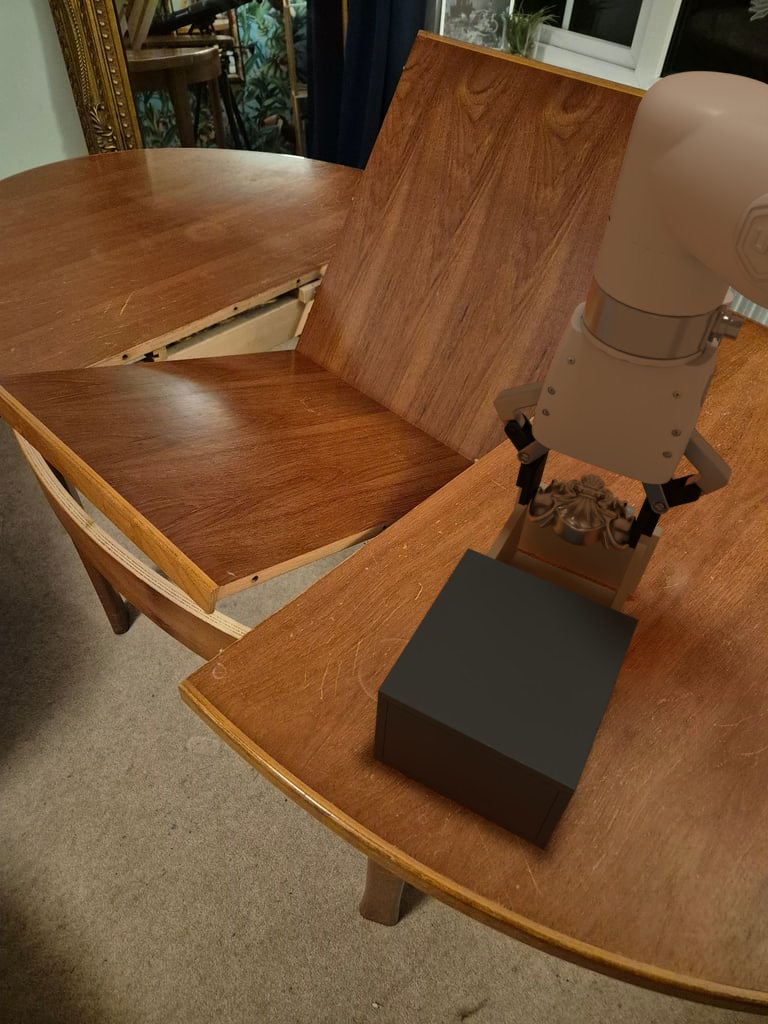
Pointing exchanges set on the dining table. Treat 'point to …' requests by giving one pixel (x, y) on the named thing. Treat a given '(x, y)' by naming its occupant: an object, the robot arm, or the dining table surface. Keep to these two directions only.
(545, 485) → the drawer
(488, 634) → the cabinet
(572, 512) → the ornament
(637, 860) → the dining table surface
